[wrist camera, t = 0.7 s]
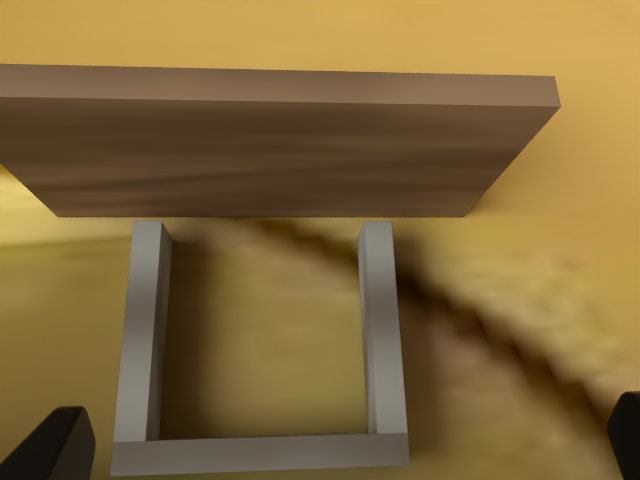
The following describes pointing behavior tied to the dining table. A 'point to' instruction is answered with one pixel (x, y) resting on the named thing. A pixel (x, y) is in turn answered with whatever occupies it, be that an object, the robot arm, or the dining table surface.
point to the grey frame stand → (261, 203)
